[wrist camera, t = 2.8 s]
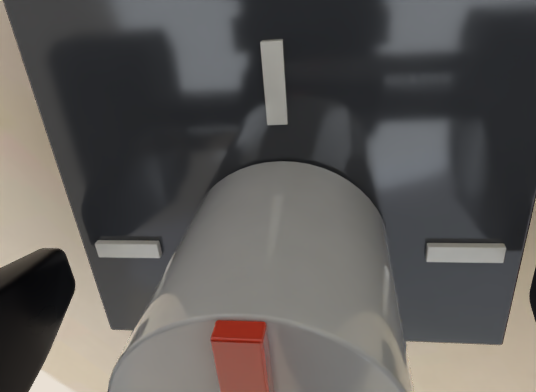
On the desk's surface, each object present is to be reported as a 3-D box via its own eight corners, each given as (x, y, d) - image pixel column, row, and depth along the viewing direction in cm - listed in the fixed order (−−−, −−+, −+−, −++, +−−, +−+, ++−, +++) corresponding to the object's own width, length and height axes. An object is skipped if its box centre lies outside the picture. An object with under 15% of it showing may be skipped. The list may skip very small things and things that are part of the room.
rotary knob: (384, 326, 10) (412, 558, 6) (205, 319, 11) (134, 528, 7) (394, 157, 8) (442, 345, 4) (175, 161, 9) (52, 330, 5)
